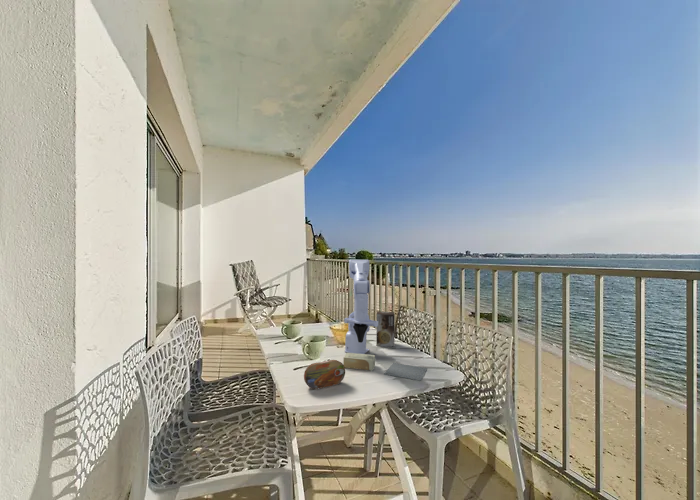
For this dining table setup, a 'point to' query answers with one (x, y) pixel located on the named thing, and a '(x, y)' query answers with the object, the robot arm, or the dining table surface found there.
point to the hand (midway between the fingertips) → (360, 341)
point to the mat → (406, 371)
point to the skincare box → (359, 361)
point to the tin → (324, 374)
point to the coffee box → (385, 329)
